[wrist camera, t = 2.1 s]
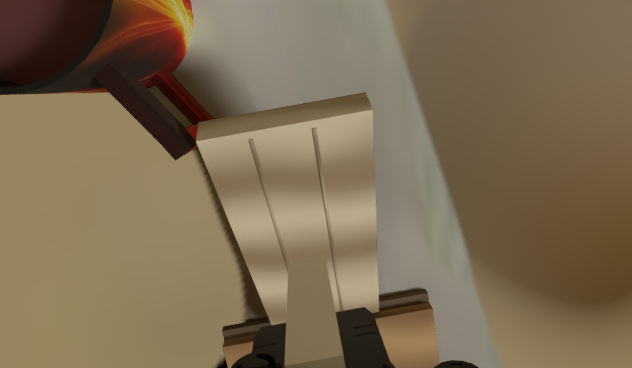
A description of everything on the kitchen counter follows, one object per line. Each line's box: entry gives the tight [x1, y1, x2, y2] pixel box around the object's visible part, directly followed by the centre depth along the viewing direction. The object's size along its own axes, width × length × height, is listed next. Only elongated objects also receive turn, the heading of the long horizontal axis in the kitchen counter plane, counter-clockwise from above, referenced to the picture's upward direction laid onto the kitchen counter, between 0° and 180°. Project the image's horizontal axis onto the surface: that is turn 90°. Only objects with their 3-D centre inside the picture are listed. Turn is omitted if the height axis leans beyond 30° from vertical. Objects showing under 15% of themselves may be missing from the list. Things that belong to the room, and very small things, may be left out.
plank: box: [196, 93, 379, 325], centre depth 25 cm, size 18×8×2 cm, turn 11°
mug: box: [0, 0, 214, 160], centre depth 21 cm, size 10×14×12 cm
